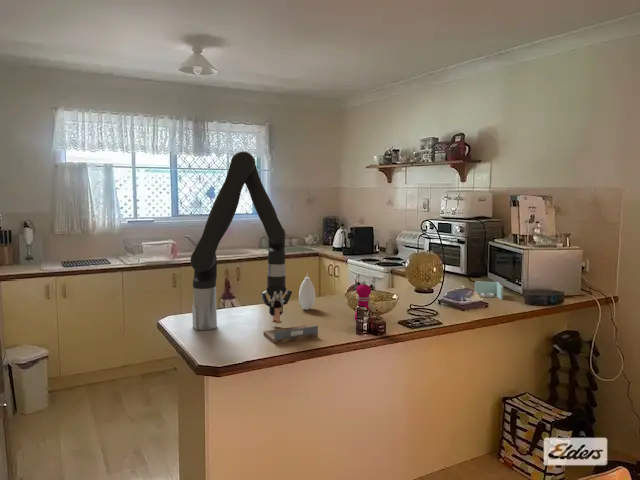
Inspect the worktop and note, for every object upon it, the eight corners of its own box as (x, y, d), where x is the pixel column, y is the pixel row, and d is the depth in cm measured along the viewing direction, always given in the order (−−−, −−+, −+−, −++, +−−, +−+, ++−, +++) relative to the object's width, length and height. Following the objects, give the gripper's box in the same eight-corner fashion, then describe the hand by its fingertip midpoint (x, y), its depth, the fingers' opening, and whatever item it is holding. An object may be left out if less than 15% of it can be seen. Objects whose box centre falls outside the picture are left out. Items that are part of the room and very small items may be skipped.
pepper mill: (353, 325, 204) (353, 279, 202) (370, 325, 205) (370, 278, 202) (355, 331, 197) (356, 282, 194) (373, 330, 197) (374, 282, 195)
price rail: (274, 340, 181) (274, 332, 180) (274, 339, 181) (274, 331, 181) (318, 333, 189) (318, 326, 188) (317, 333, 189) (317, 325, 189)
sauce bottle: (315, 311, 226) (315, 273, 224) (298, 311, 226) (298, 273, 224) (315, 307, 234) (315, 270, 231) (299, 307, 234) (299, 270, 232)
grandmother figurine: (286, 322, 202) (287, 292, 201) (280, 324, 199) (281, 294, 197) (271, 319, 206) (272, 290, 205) (265, 321, 203) (266, 291, 201)
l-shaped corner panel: (474, 294, 264) (475, 281, 263) (497, 295, 262) (498, 282, 261) (478, 300, 252) (479, 286, 251) (502, 301, 250) (503, 286, 249)
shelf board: (274, 344, 181) (274, 340, 181) (263, 334, 191) (263, 331, 191) (317, 337, 189) (317, 333, 189) (304, 328, 200) (304, 325, 199)
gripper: (263, 277, 193) (263, 319, 196) (295, 274, 200) (295, 315, 202) (257, 273, 200) (257, 314, 202) (288, 271, 206) (288, 310, 209)
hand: (276, 314), depth 202 cm, fingers closed on grandmother figurine, 3 cm apart
